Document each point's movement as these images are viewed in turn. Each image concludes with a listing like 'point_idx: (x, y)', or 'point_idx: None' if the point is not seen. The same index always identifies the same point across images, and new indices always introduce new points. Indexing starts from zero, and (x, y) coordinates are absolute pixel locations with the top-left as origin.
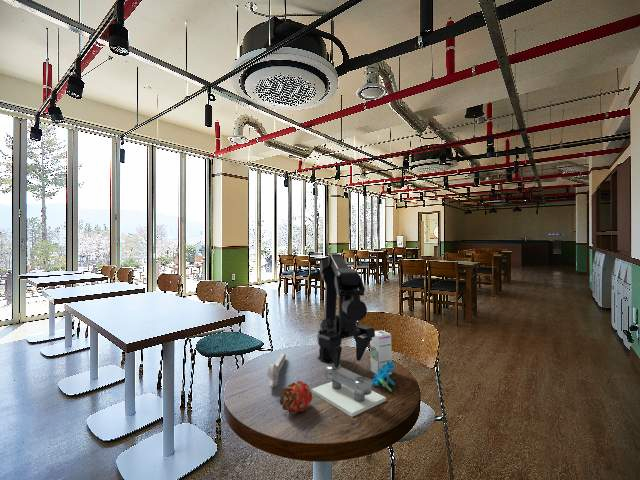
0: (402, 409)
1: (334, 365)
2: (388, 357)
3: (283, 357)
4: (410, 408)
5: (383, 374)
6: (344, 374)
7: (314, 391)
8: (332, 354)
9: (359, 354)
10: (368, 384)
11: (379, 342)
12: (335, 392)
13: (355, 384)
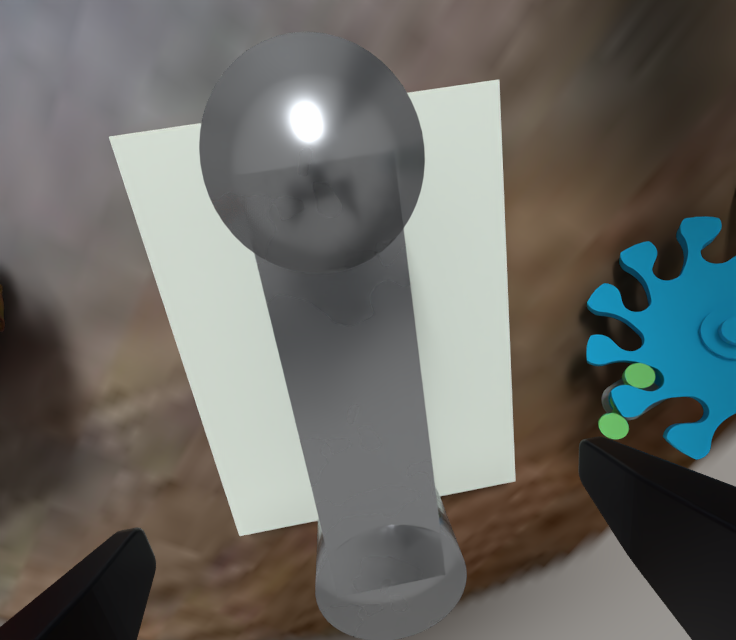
0: (509, 554)
1: (97, 552)
2: None
3: None
4: (545, 560)
5: (697, 389)
6: (314, 423)
7: (127, 179)
8: None
9: (660, 566)
10: (390, 636)
11: None
12: None
13: (316, 566)
